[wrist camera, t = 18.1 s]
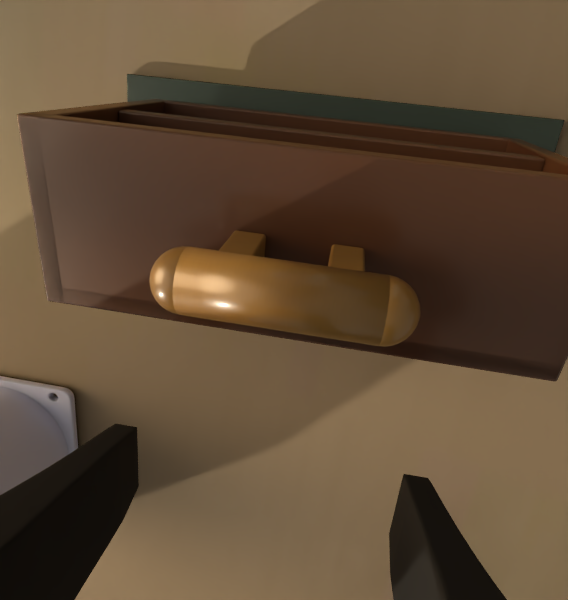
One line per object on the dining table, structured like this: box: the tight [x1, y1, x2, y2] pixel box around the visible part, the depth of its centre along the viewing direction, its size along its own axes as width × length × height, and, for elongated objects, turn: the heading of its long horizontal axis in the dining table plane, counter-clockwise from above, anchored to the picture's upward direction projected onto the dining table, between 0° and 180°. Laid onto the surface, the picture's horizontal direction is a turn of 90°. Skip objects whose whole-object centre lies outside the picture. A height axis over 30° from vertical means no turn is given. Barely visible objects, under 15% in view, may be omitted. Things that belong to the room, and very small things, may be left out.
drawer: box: [17, 99, 568, 381], centre depth 13 cm, size 5×14×11 cm, turn 84°
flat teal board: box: [127, 74, 564, 153], centre depth 19 cm, size 7×17×1 cm, turn 84°
